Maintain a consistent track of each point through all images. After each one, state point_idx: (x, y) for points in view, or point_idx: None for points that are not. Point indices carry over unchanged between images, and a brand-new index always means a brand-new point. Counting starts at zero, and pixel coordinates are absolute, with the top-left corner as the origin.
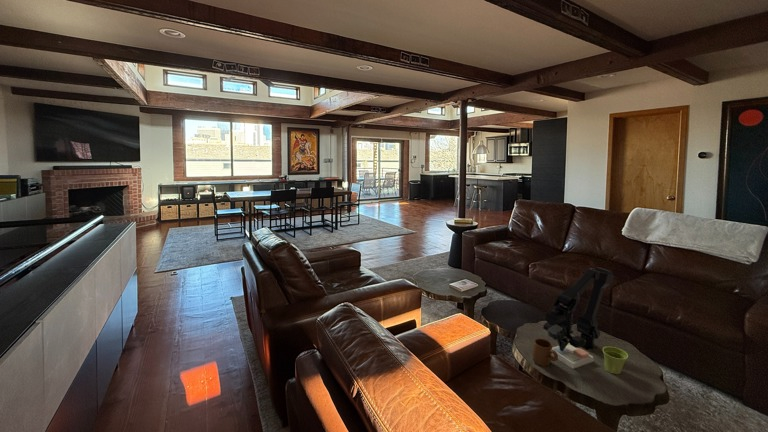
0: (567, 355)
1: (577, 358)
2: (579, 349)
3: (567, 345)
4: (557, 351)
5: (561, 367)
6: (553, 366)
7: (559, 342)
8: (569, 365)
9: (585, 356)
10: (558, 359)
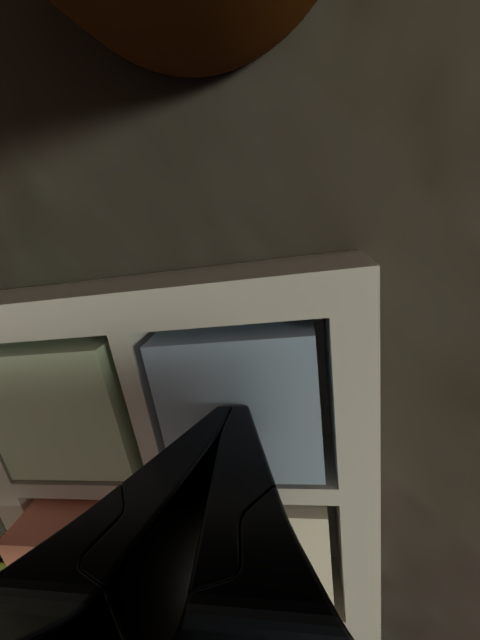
0: (93, 395)
1: (16, 458)
2: None
3: (321, 581)
4: (236, 337)
5: (16, 174)
6: (43, 58)
7: (221, 524)
8: (7, 292)
9: None
10: (178, 271)
